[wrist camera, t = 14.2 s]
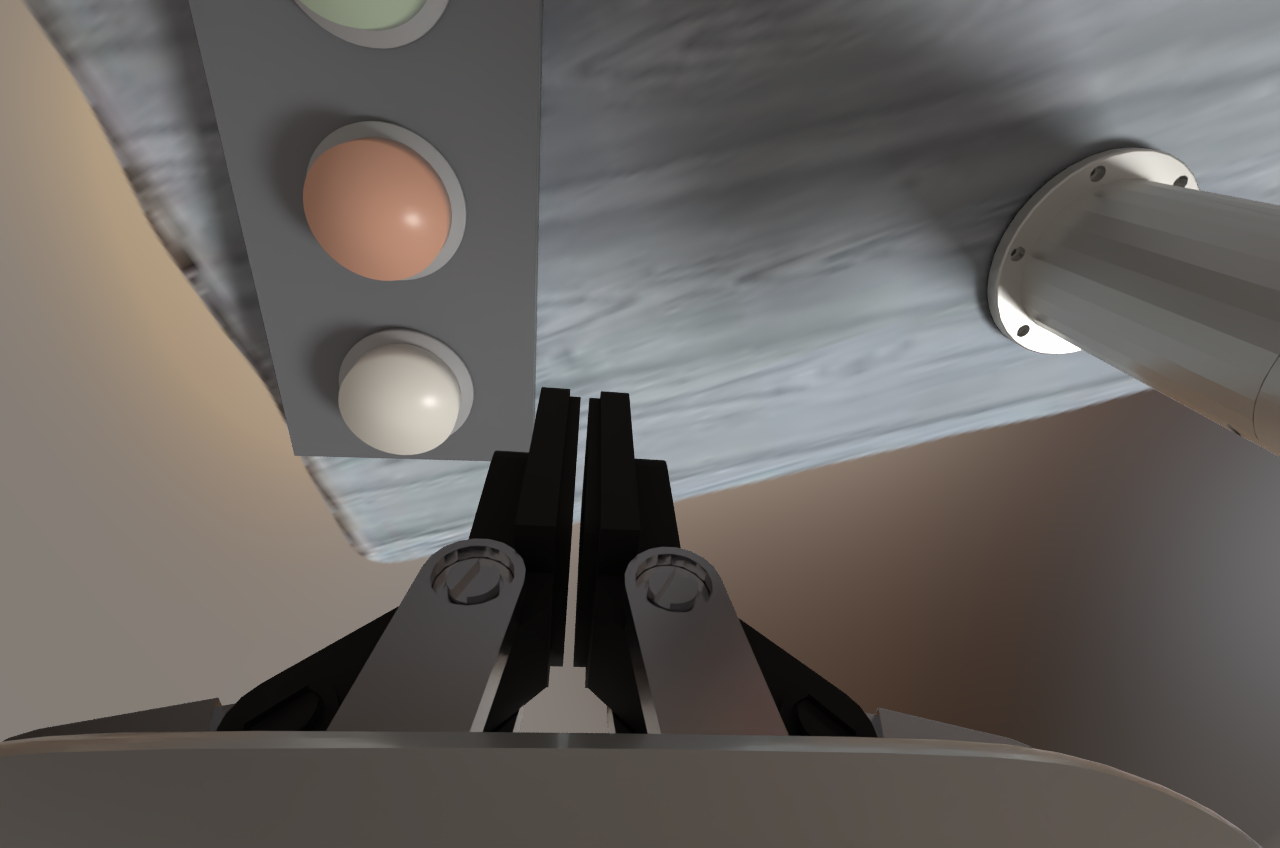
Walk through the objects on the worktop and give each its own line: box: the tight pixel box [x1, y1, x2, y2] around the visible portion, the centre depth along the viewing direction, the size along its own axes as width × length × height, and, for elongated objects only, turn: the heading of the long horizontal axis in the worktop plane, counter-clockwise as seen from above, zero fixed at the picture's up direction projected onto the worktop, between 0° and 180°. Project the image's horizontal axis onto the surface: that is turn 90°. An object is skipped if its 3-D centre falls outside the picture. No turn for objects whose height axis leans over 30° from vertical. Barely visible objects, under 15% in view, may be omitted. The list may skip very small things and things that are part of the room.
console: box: [188, 0, 543, 461], centre depth 29 cm, size 14×30×4 cm, turn 174°
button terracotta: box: [303, 137, 452, 281], centre depth 27 cm, size 6×6×2 cm
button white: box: [338, 344, 462, 455], centre depth 32 cm, size 6×6×2 cm
